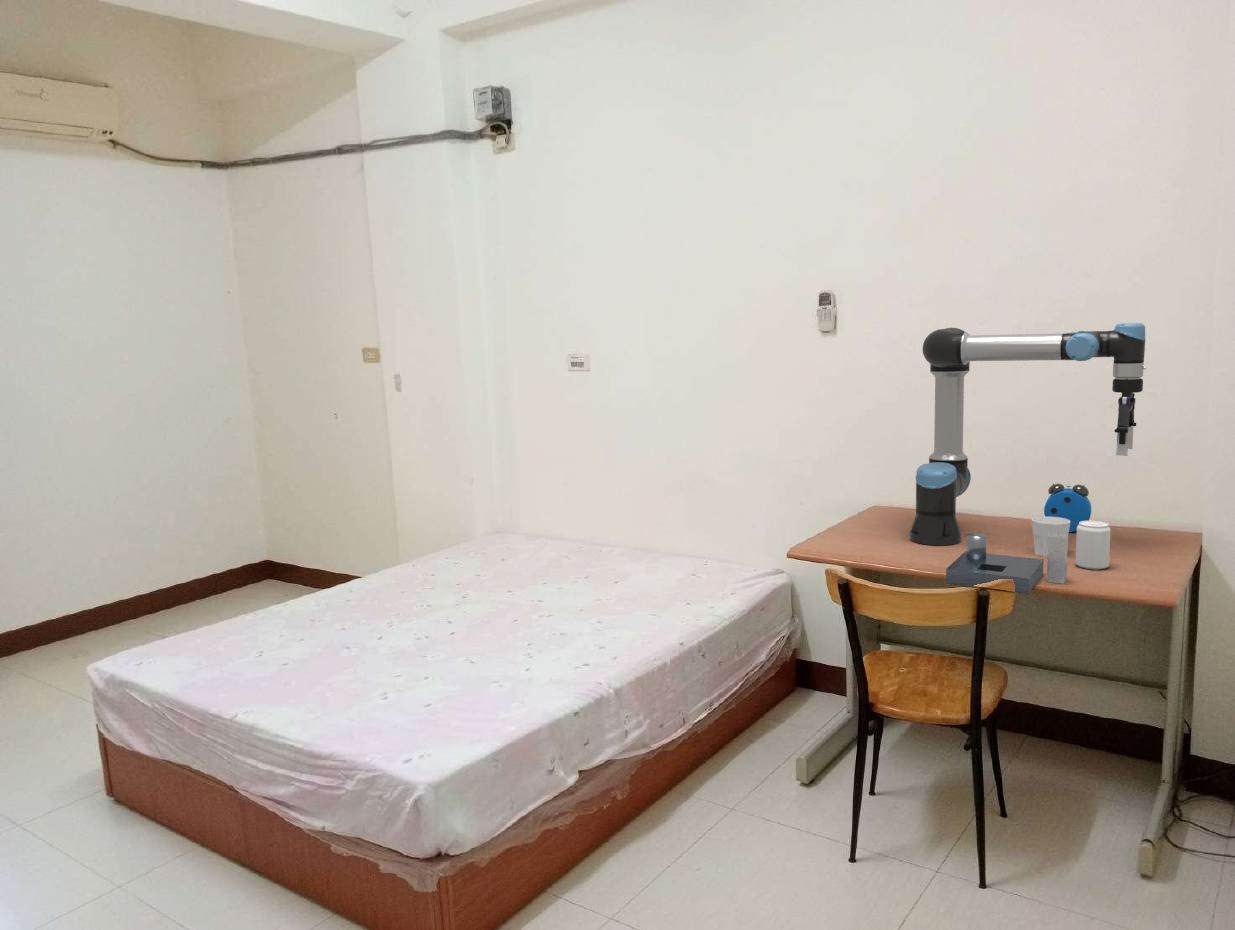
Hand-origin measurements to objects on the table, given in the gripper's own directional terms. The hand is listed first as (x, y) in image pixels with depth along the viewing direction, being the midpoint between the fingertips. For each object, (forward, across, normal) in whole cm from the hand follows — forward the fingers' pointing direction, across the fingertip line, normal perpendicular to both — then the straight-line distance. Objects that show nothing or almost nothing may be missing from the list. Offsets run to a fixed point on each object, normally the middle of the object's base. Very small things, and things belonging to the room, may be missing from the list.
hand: (1124, 452), depth 260 cm
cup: (+28, -16, +16) cm, 36 cm away
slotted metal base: (+28, -48, +24) cm, 61 cm away
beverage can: (+28, -25, +4) cm, 38 cm away
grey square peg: (+28, -43, +10) cm, 53 cm away
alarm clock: (+28, +15, +16) cm, 36 cm away
